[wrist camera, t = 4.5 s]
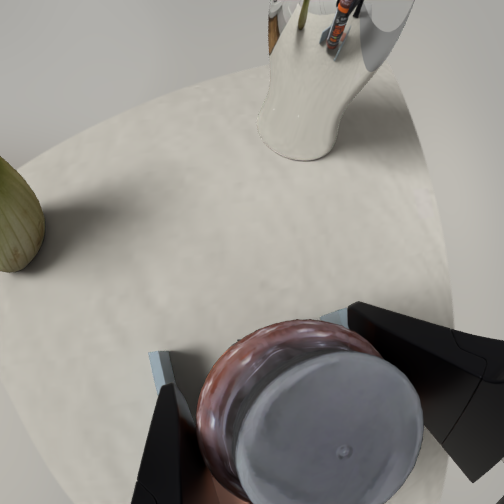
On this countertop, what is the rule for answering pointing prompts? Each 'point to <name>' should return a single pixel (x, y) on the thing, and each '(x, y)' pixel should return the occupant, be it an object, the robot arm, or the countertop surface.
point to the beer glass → (322, 67)
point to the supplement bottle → (308, 418)
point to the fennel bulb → (18, 220)
